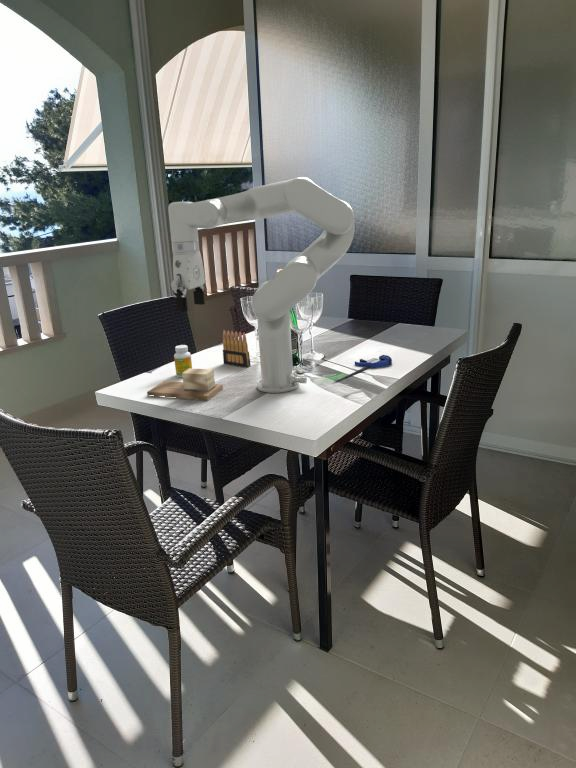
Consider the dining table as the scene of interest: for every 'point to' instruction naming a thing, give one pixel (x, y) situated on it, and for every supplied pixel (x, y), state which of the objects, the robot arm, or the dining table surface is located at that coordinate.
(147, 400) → the dining table surface
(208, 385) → the block
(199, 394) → the board
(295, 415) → the dining table surface
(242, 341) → the ammunition clip
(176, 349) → the supplement bottle
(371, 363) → the bar clamp
